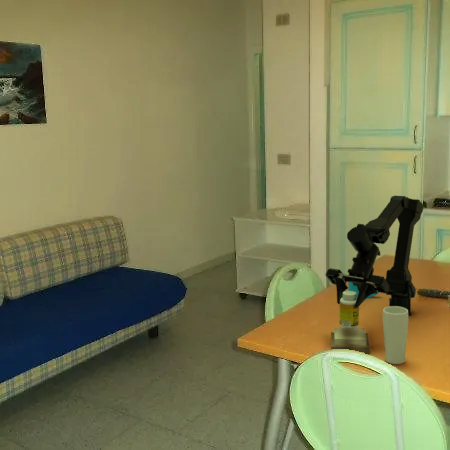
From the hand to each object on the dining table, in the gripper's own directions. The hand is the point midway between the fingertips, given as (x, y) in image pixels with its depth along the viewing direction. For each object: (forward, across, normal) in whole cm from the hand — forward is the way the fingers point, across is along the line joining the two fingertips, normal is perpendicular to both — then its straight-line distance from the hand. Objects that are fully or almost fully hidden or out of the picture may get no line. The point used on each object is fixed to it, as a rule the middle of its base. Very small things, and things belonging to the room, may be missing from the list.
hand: (347, 305), depth 172 cm
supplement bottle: (+4, 0, -6) cm, 7 cm away
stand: (+8, 0, -10) cm, 13 cm away
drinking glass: (+10, -16, -8) cm, 20 cm away
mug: (-22, +18, -42) cm, 50 cm away
